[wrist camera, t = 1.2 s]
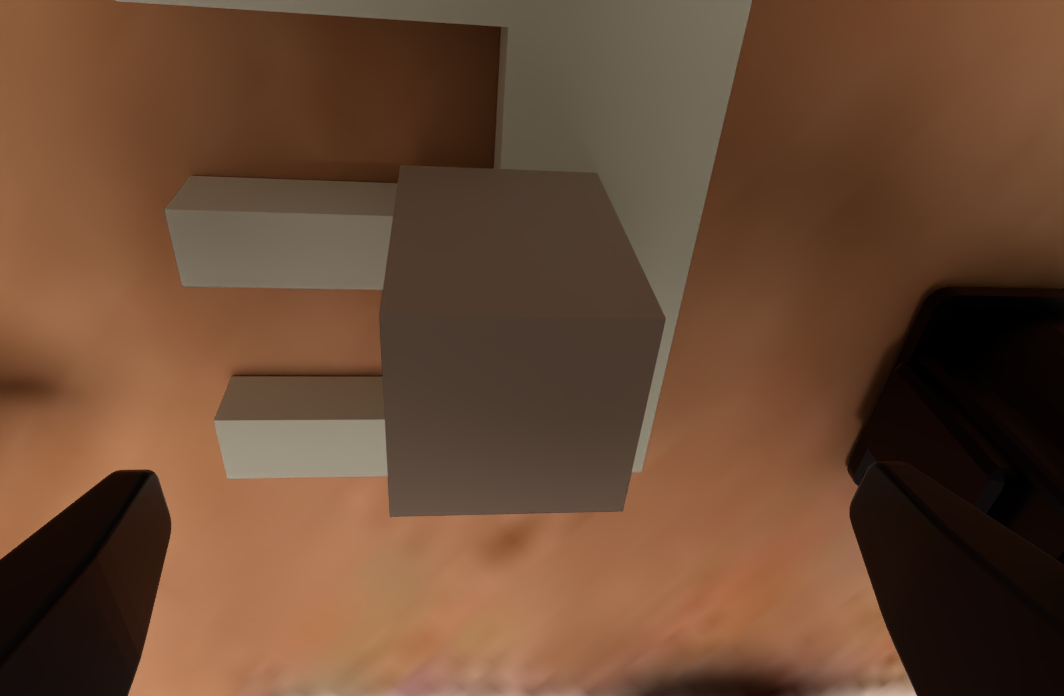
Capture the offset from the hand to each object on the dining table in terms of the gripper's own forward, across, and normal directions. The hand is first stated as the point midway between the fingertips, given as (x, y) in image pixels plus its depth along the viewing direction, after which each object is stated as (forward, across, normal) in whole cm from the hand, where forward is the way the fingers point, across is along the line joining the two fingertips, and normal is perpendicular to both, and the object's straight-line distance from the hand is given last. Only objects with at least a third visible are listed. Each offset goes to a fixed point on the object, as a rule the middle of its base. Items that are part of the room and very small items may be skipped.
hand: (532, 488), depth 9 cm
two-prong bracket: (+8, +1, 0) cm, 8 cm away
